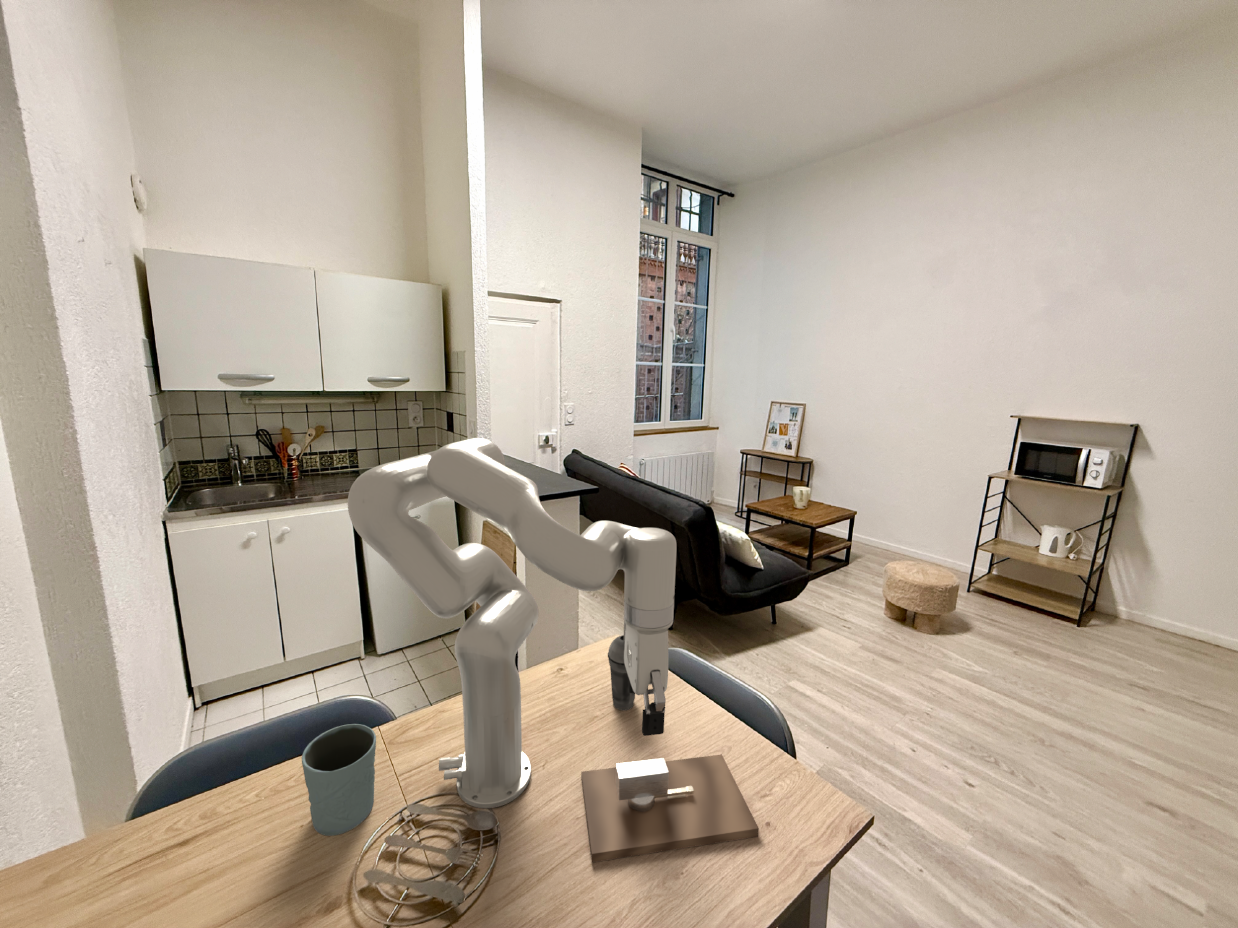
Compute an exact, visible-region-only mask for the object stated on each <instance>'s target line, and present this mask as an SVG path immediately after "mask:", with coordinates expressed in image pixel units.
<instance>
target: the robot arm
mask: <svg viewBox="0 0 1238 928" xmlns="http://www.w3.org/2000/svg"><path fill="white" fill-rule="evenodd" d="M445 497H446V498H449V499H450V500H452V501H454V502H456V503H458V504H459V505H461V506H463V507H465V508H467V509H468V510H470V511H472V512H473V513H476V514H477V515H479V516H480V517H482V518H484V519H486V520H488V521H489V522H491V523H494V524H495V525H496V526H498V527H501V528H502V529H503V530H505V531H506V533H507V534H508V535H509V537H510V539H511V541H512V543H513V544H514V545H515V547H517V549H518V550H519V551H520V553H521V554H522V555H523V556H524V557H525V559H526V560H527V561H529V563H531V565H533V566H534V567H536V569H538V570H540V571H541V572H542V573H545V574H547V575H548V576H550V577H552V578H554V579H556V581H559V582H561V583H562V584H565V585H566V586H569V587H571V588H573V589H576V590H578V591H579V590H580V591H582V592H596V591H599V590H602V589H603V588H606V587H607V586H608V585H609V584H611V582H612V581H613V579H614V578H615V576H616V575H617V572H618V570H623V573H624V590H623V591H624V593H623V594H624V595H623V596H624V597H623V623H624V622H625V623H626V634H625V648H624V663H625V667H626V670H627V674H628V677H629V692H630V693H635V695H637V696H642V695H643V696H642V697H643V703H644V704H643V706H644V709H642V716H641V717H642V719H641V733H642V736H643V737H647V736H655V735H662V734H664V732H665V716H666V715H665V714H666V713H665V712H666V702H667V701H666V696H665V692H666V691H667V689H668V681H669V631H668V630H669V628H671V627H672V625H673V623H674V610H675V589H676V587H675V586H676V567H677V540H676V537H675V536H674V535H673V534H672V533H671V532H670V531H668V530H666V529H663V528H659V527H635V526H631V525H628V524H625V523H624V524H623V523H620V522H617V521H612V520H598V521H595V522H593V523H592V524H590V525H589V526H588V527H587V528H585V530H584V531H583V532H582V533H581V534H579V533H577V532H575V531H573V530H572V529H569V528H568V527H566V526H564V525H562V524H561V523H560V522H558V521H557V520H555V519H554V517H552V516H551V515H549V513H548V512H547V511H546V510H545V508H544V506H542V503H541V500H540V495H539V489H538V485H537V483H535V482H534V480H532V479H530V478H529V477H526V476H525V475H523V474H521V473H519V472H518V471H515V470H513V469H511V468H509V467H507V466H506V460H505V457H504V453H503V451H502V450H501V449H500V448H499V446H498V445H497V444H495V442H493V441H490V439H486V438H482V437H472V438H468V439H463V440H459V441H456V442H451V443H448V444H445V445H443V446H441V447H440V448H438V449H436V450H433V451H429V452H426V453H422V454H418V455H415V456H414V455H413V456H410V457H406V458H402V459H399V460H393V461H391V462H386V463H383V464H379V465H377V466H374V467H372V468H370V469H368V470H366V471H364V472H363V473H361V474H360V475H359V476H358V477H357V478H356V479H355V481H353V483H352V484H351V487H350V489H349V492H348V496H347V510H348V511H347V512H348V515H349V518H350V522H351V523H352V526H353V528H354V529H355V531H356V532H357V534H358V535H359V536H360V537H361V539H363V541H364V542H365V543H366V544H367V545H369V547H370V548H372V549H373V550H374V551H375V552H377V554H379V555H380V556H381V557H382V558H383V560H385V561H386V562H387V563H388V565H389V566H391V567H392V569H393V570H394V571H395V572H396V574H397V575H398V576H399V577H400V579H402V581H403V582H404V583H405V584H406V586H407V587H408V588H409V589H410V590H411V592H413V594H414V595H415V597H417V598H418V599H419V600H420V602H421V603H422V604H423V605H424V606H425V607H426V609H428V610H429V611H430V612H431V613H432V614H433V615H434V616H436V617H438V618H439V619H440V618H441V619H451V618H454V617H457V616H459V615H460V614H462V613H463V612H464V611H465V610H467V609H468V608H469V607H470V606H471V605H473V603H475V602H476V603H477V604H478V605H479V608H478V609H476V611H475V612H473V613H472V614H471V615H470V616H469V617H468V618H467V619H466V620H465V621H464V623H463V624H462V626H461V627H460V629H459V630H458V632H457V635H456V637H455V642H454V654H455V659H456V663H457V666H458V670H459V674H460V675H459V676H460V682H461V694H462V697H461V698H462V712H463V715H462V717H463V736H464V738H463V739H464V740H463V741H464V753H458V756H453V757H451V756H447V757H440V758H439V759H438V760H439V762H438V771H439V772H443V780H444V781H447V780H452V779H456V791H457V794H458V796H459V797H460V798H461V800H462V801H463V802H465V803H466V804H467V805H469V806H471V807H474V808H479V809H493V808H498V807H501V806H504V805H506V804H509V803H510V802H512V801H514V800H515V799H517V798H518V797H519V796H520V795H521V794H522V793H523V792H524V790H526V788H527V787H528V784H529V783H530V780H531V776H532V775H531V774H532V765H531V761H530V758H529V757H528V756H527V755H526V753H524V752H523V748H522V746H523V745H522V743H523V742H522V740H523V739H522V736H523V734H522V733H523V732H522V694H521V693H522V691H521V689H522V688H521V687H522V685H521V678H520V672H519V671H518V668H517V666H516V656H517V655H516V654H517V653H518V650H519V649H520V647H521V646H522V645H523V644H524V642H525V641H526V640H527V638H528V637H529V635H530V634H531V633H532V631H533V630H534V628H535V627H536V625H537V624H538V620H539V615H540V612H539V605H538V602H537V600H536V599H535V597H534V595H533V594H532V593H531V591H530V590H529V589H528V588H527V586H526V585H525V584H524V583H523V582H522V580H520V578H519V577H518V576H517V575H516V574H515V573H514V572H513V570H512V569H511V568H510V567H509V566H508V565H507V563H506V562H505V561H504V560H503V559H502V558H501V557H500V556H499V554H498V553H496V552H495V550H493V549H491V548H490V547H488V546H487V545H485V544H482V543H478V542H467V543H464V544H462V545H461V544H460V545H459V546H458V547H456V548H454V549H452V548H450V547H449V546H448V544H446V543H445V542H444V541H443V539H442V538H441V537H440V536H439V534H438V533H437V532H436V531H435V530H434V529H433V528H432V527H430V526H429V525H427V524H425V523H424V522H422V521H420V520H417V519H416V518H415V517H412V516H411V515H410V511H412V510H414V509H417V508H419V507H421V506H423V505H426V504H428V503H431V502H434V501H435V500H436V501H437V500H438V499H443V498H445ZM650 685H651V686H652V688H649V686H650ZM649 695H653V702H651V703H650V699H649V698H650V696H649Z"/></svg>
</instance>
